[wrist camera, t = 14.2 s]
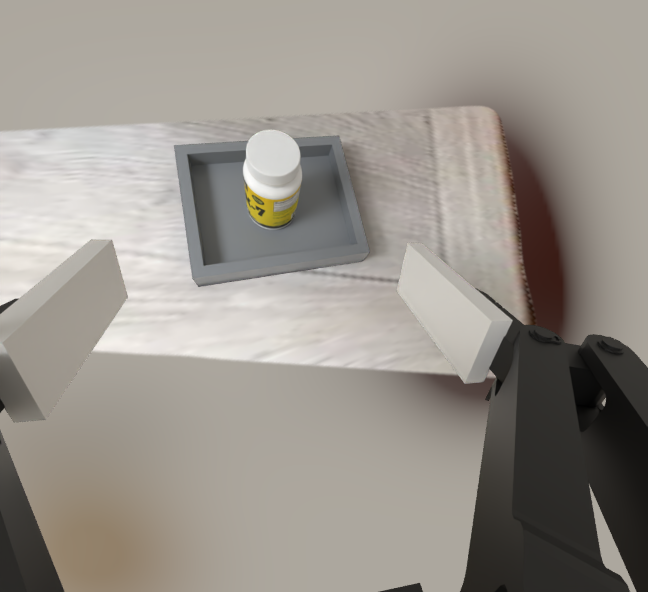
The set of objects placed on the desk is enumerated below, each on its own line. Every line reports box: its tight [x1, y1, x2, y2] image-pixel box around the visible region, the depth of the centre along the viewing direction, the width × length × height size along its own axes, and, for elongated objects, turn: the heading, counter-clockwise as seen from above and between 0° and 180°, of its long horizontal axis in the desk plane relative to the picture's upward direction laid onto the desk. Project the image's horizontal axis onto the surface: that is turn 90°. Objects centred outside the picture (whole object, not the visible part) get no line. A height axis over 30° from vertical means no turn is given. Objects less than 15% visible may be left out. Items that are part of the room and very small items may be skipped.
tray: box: [174, 136, 370, 287], centre depth 31 cm, size 16×13×2 cm
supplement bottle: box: [243, 130, 302, 230], centre depth 27 cm, size 5×5×8 cm
